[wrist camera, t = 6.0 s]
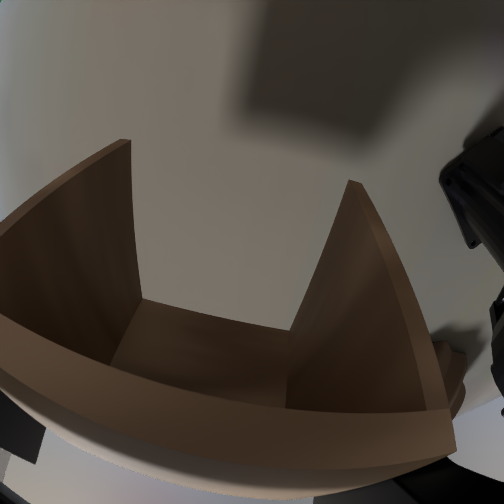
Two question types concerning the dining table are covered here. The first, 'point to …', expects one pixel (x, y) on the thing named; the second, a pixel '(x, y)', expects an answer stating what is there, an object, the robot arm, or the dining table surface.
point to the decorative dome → (452, 374)
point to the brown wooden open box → (216, 354)
